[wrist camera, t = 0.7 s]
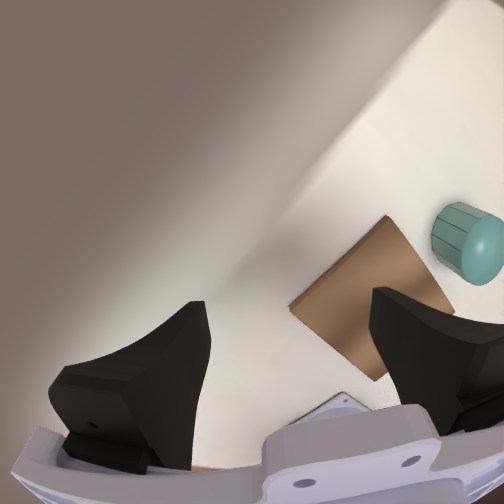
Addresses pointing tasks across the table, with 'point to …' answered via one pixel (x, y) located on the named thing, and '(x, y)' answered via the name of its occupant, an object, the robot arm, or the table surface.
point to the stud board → (366, 294)
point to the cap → (469, 242)
